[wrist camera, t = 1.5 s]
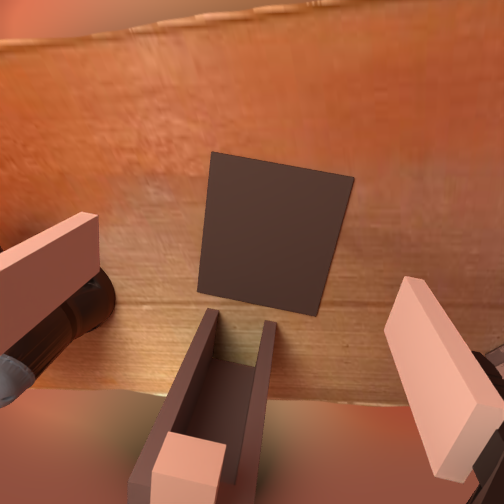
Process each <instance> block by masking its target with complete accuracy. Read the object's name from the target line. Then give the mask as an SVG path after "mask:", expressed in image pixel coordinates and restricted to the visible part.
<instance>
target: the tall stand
mask: <svg viewBox="0 0 504 504" xmlns="http://www.w3.org/2000/svg"><path fill="white" fill-rule="evenodd" d="M218 313H219V310H214V309H210V308H207V310H206V312H205V315H204V317H203V319H202V321H201V323H200V325H199V328H198V330H197V332H196V334H195V336H194V338H193V341H192V343H191V345H190V347H189V349H188V351H187V354H186V356H185V358H184V360H183V362H182V364H181V367H180V369H179V371H178V373H177V375H176V378H175V380H174V382H173V384H172V386H171V388H170V391H169V393H168V395H167V397H166V399H165V401H164V404H163V406H162V408H161V410H160V412H159V414H158V417H157V419H156V421H155V423H154V425H153V428H152V430H151V432H150V434H149V436H148V438H147V441H146V443H145V445H144V447H143V449H142V451H141V454H140V456H139V458H138V460H137V462H136V465H135V467H134V469H133V471H132V473H131V475H130V478H129V480H128V504H150V497H151V478H152V470H153V467H154V465H155V462H156V460H157V458H158V455H159V453H160V450H161V448H162V445H163V443H164V440H165V438H166V435H167V433H168V431H169V432H173V433H178V434H182V435H186V436H191V437H195V438H199V439H203V440H208V441H212V442H216V443H221V444H225V445H226V450H225V455H224V461H223V466H222V472H221V477H220V483H219V488H218V494H217V499H216V504H254V500H255V492H256V484H257V475H258V467H259V459H260V451H261V443H262V435H263V426H264V419H265V411H266V403H267V395H268V387H269V379H270V371H271V363H272V355H273V347H274V339H275V331H276V322H272V321H267V320H265V322H264V327H263V332H262V337H261V342H260V347H259V352H258V356H257V361H256V366H255V367H251V366H247V365H242V364H238V363H233V362H229V361H224V360H219V359H215V358H212V357H213V350H214V343H215V335H216V328H217V320H218Z"/></svg>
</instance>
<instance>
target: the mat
mask: <svg viewBox="0 0 504 504" xmlns="http://www.w3.org/2000/svg"><path fill="white" fill-rule="evenodd" d="M353 180H354V177H350V176H344V175H339V174H333V173H328V172H322V171H317V170H311V169H306V168H300V167H295V166H289V165H284V164H278V163H273V162H267V161H262V160H256V159H250V158H245V157H239V156H234V155H228V154H223V153H217V152H211V160H210V169H209V179H208V189H207V199H206V209H205V218H204V228H203V238H202V248H201V258H200V267H199V277H198V287H197V292H200V293H204V294H209V295H214V296H219V297H224V298H229V299H233V300H238V301H243V302H248V303H253V304H258V305H262V306H267V307H272V308H277V309H282V310H287V311H291V312H296V313H301V314H306V315H311V316H316V314H317V311H318V307H319V303H320V300H321V296H322V292H323V289H324V285H325V282H326V278H327V274H328V271H329V267H330V264H331V260H332V256H333V253H334V249H335V245H336V242H337V238H338V235H339V231H340V227H341V224H342V220H343V216H344V213H345V209H346V206H347V202H348V198H349V195H350V191H351V187H352V184H353Z"/></svg>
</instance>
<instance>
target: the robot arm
mask: <svg viewBox="0 0 504 504" xmlns="http://www.w3.org/2000/svg"><path fill="white" fill-rule="evenodd" d="M114 305H115V294H114V290H113V287H112V284H111V282H110V280H109V278H108V277H107V275H106V274H105V273H104V271H103V270H102V269H101V268H100V259H99V222H98V215H95V214H90V213H85V212H80V213H78V214H76V215H74V216H72V217H70V218H68V219H66V220H64V221H62V222H60V223H59V224H57V225H55V226H53V227H51V228H49V229H47V230H45V231H43V232H41V233H39V234H37V235H35V236H33V237H31V238H29V239H27V240H25V241H23V242H21V243H20V244H18V245H16V246H14V247H12V248H10V249H8V250H6V251H3V250H2V248H1V246H0V408H2V407H5V406H7V405H9V404H10V403H12V402H13V401H14V400H15V399H16V398H18V397H19V396H20V395H21V394H22V393H23V392H24V391H25V390H26V389H28V388H29V387H31V386H32V385H33V384H34V382H35V380H36V379H37V378H38V377H39V376H40V375H41V374H42V373H43V372H44V371H45V369H46V368H47V367H48V366H49V365H50V364H51V363H52V362H53V361H54V360H55V359H56V358H57V357H58V356H59V354H60V353H61V352H62V351H63V350H64V349H65V348H66V347H67V346H68V345H69V344H70V343H71V342H72V341H73V340H74V339H76V338H78V337H80V336H82V335H83V334H85V333H87V332H90V331H93V330H95V329H96V328H98V327H99V326H101V325H102V324H103V323H104V322H105V321H106V319H107V318H108V317H109V316H110V315H111V313H112V311H113V309H114ZM384 332H385V335H386V338H387V341H388V344H389V347H390V349H391V352H392V355H393V358H394V361H395V364H396V367H397V370H398V373H399V375H400V378H401V381H402V384H403V387H404V390H405V393H406V396H407V399H408V402H409V404H410V407H411V410H412V413H413V416H414V419H415V422H416V425H417V428H418V430H419V433H420V436H421V439H422V442H423V445H424V448H425V451H426V454H427V457H428V459H429V462H430V465H431V468H432V471H433V474H434V476H435V477H438V478H442V479H446V480H450V481H455V482H459V483H464V482H465V480H466V478H467V477H468V475H469V473H470V472H471V471H472V469H473V470H474V472H475V474H476V476H477V479H478V481H479V483H480V484H479V485H478V487H477V489H476V490H475V491H474V493H473V494H472V496H471V497H470V499H469V500H468V502H467V503H466V504H504V379H502V376H501V374H500V373H499V371H498V370H497V369H496V367H495V366H494V364H492V363H491V362H490V361H489V360H488V359H487V358H486V357H484V356H483V355H482V354H481V353H480V352H475V351H471V350H470V349H469V348H468V346H467V345H466V343H465V342H464V340H463V339H462V337H461V336H460V334H459V333H458V331H457V330H456V328H455V327H454V325H453V323H452V322H451V320H450V319H449V317H448V316H447V314H446V313H445V311H444V310H443V308H442V307H441V305H440V304H439V302H438V301H437V299H436V298H435V296H434V295H433V293H432V292H431V290H430V289H429V287H428V286H427V284H426V283H425V281H424V280H423V279H418V278H413V277H408V276H404V279H403V282H402V284H401V287H400V290H399V292H398V295H397V297H396V300H395V303H394V305H393V308H392V310H391V313H390V316H389V318H388V321H387V323H386V326H385V329H384Z"/></svg>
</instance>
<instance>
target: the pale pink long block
mask: <svg viewBox="0 0 504 504" xmlns="http://www.w3.org/2000/svg"><path fill="white" fill-rule="evenodd" d="M225 450H226V445H225V444H221V443H216V442H212V441H208V440H203V439H199V438H195V437H191V436H186V435H182V434H178V433H173V432H169V431H168V433H167V435H166V438H165V440H164V443H163V445H162V448H161V450H160V453H159V455H158V458H157V460H156V462H155V465H154V467H153V470H152V478H151V497H150V504H216V499H217V494H218V488H219V483H220V477H221V472H222V466H223V461H224V455H225Z"/></svg>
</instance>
